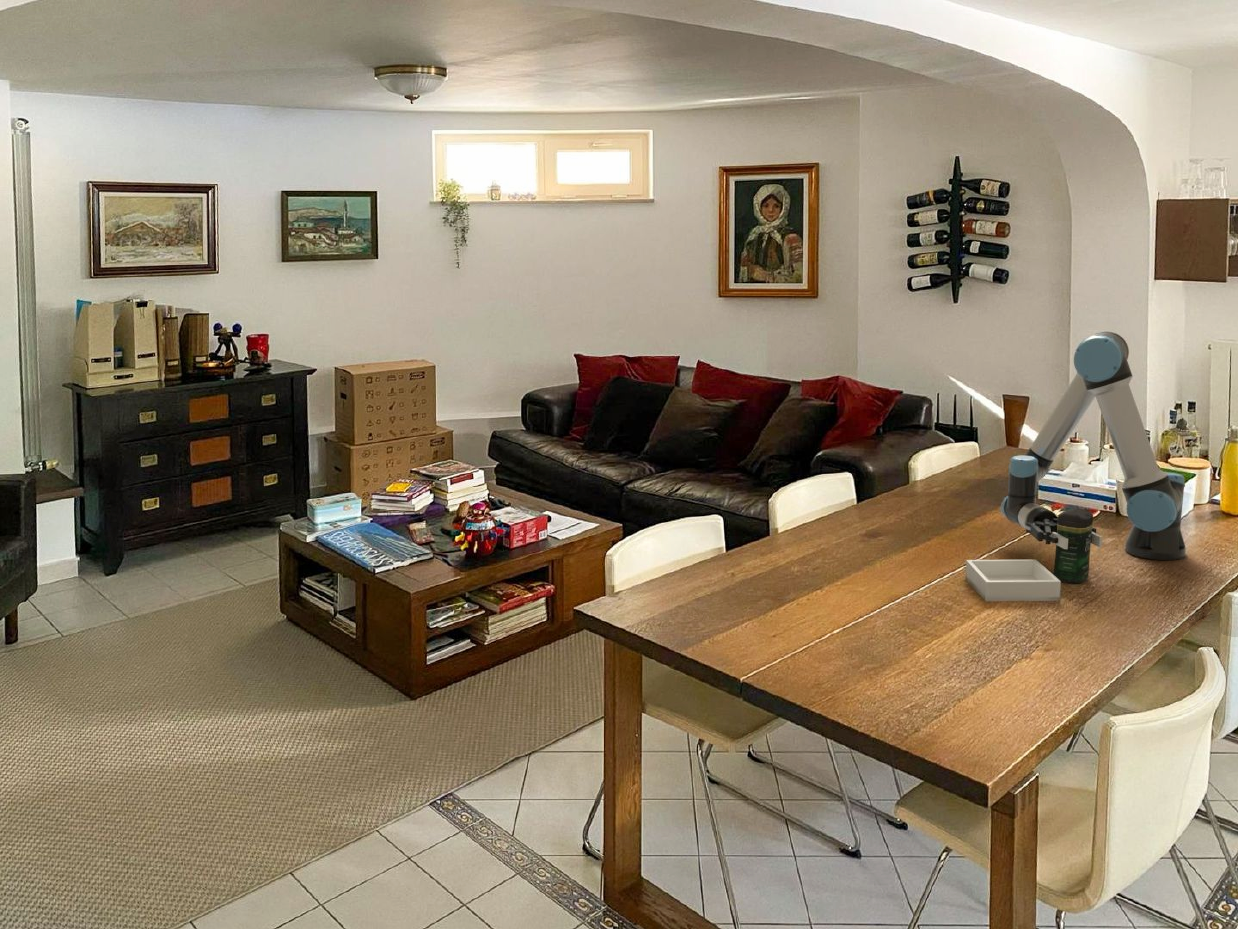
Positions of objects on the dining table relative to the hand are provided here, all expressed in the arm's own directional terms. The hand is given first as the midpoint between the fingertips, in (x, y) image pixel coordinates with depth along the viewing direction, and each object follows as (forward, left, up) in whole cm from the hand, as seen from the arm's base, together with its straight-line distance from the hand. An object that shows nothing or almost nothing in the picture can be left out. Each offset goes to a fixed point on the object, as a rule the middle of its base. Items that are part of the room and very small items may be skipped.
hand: (1083, 543), depth 273 cm
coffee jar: (+1, -5, -11) cm, 12 cm away
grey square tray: (+19, +3, -11) cm, 22 cm away
